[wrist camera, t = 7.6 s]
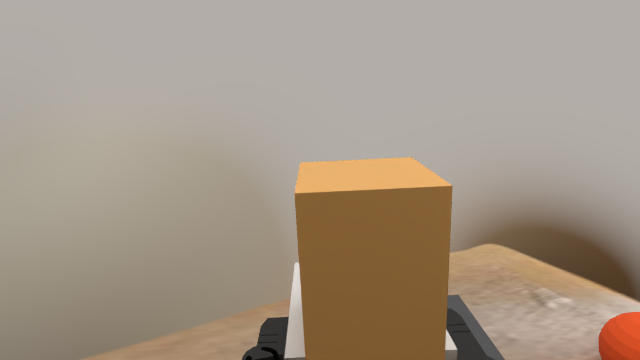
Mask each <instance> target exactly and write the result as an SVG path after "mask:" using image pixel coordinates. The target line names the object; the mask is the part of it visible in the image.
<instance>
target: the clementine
mask: <svg viewBox="0 0 640 360" xmlns="http://www.w3.org/2000/svg"><path fill="white" fill-rule="evenodd" d="M599 353H600V355H601V358H602V360H640V312H631V313H623V314H620V315H618V316H616V317H614V318H612V319H610V320H609V321H608V322H607V323H606V324H605V325H604V327H603V328H602V330H601V332H600V335H599Z"/></svg>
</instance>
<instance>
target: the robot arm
mask: <svg viewBox="0 0 640 360" xmlns="http://www.w3.org/2000/svg"><path fill="white" fill-rule="evenodd" d="M242 360H305V346H304V331H303V315H302V300H301V284H300V269H299V263H295V267H294V276H293V285H292V294H291V303H290V312H289V317H280V318H268V319H267V320H266V321H265V322H264V323H263V325H262V326H261V329H260V333H259V338H258V344H257V346H255V347H253V348H251V349H250V350H248V351H247V352H246V353H245V354H244V356H243V358H242ZM445 360H495V359H493V358H491V357H489V356H487V355H486V354H485V352H484V350H483V349H482V347H481V346H480V344H479V343H478V341H477V340H476V338H475V337H474V335H473V333H471V330H470V329H469V327H468V326H467V325H466V323H465V321H464V320H463V318H462V316H461V315H460V314H458V313H457V312H456V311H454V310H453V309H451V308H447V322H446V345H445Z"/></svg>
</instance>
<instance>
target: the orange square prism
mask: <svg viewBox="0 0 640 360" xmlns="http://www.w3.org/2000/svg"><path fill="white" fill-rule="evenodd" d="M451 206H452V185H451V184H449V183H448V182H446V181H445V180H443V179H442V178H441V177H439V176H438V175H436V174H435V173H433V172H432V171H431V170H429V169H428V168H426V167H425V166H423V165H422V164H421V163H419V162H418V161H416V160H415V159H413V158H412V157H406V158H388V159H387V158H385V159H367V160H366V159H365V160H343V161H322V162H302V163H300V167H299V173H298V178H297V183H296V189H295V207H296V220H297V221H296V223H297V238H298V253H299V269H300V284H301V300H302V315H303V331H304V346H305V360H445V345H446V322H447V299H448V276H449V252H450V229H451Z"/></svg>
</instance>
